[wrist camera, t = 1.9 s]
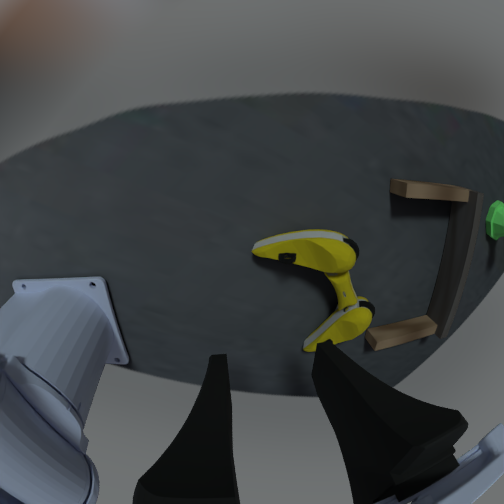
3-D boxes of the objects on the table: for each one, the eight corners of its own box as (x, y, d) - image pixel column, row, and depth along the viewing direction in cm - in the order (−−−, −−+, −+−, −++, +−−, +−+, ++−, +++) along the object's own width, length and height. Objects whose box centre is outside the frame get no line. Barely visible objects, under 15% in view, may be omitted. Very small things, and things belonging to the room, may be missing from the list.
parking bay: (364, 337, 23) (379, 358, 20) (390, 178, 18) (416, 185, 15) (430, 321, 24) (446, 336, 21) (459, 186, 19) (483, 193, 16)
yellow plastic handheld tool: (376, 311, 21) (381, 342, 18) (305, 328, 23) (302, 359, 21) (344, 202, 17) (350, 225, 14) (258, 232, 20) (247, 257, 17)
